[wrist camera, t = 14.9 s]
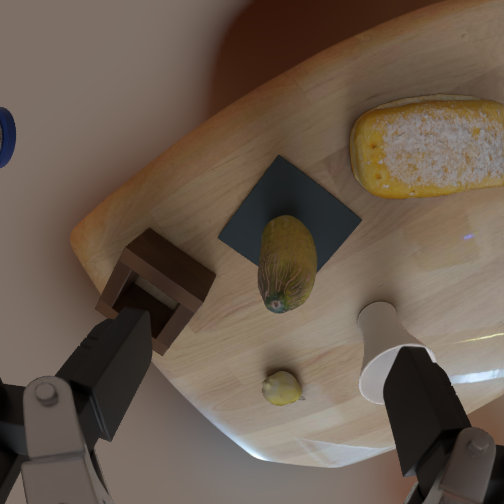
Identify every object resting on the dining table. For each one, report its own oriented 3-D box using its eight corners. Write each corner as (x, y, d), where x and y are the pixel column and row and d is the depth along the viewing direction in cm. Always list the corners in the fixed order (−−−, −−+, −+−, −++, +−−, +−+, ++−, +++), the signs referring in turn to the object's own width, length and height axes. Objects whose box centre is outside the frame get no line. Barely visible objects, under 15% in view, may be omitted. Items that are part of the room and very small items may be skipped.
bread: (334, 109, 37) (345, 104, 30) (496, 90, 32) (528, 88, 25) (357, 208, 41) (371, 225, 34) (509, 177, 36) (540, 188, 29)
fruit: (293, 402, 56) (249, 384, 53) (312, 379, 55) (269, 359, 52) (302, 422, 50) (256, 404, 47) (324, 397, 50) (278, 377, 47)
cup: (334, 337, 49) (344, 399, 37) (361, 281, 45) (383, 336, 33) (389, 350, 49) (410, 408, 37) (418, 298, 45) (451, 351, 33)
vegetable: (289, 196, 42) (292, 253, 23) (321, 230, 43) (344, 309, 24) (256, 226, 43) (232, 302, 25) (287, 258, 45) (286, 350, 26)
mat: (218, 236, 45) (217, 237, 45) (278, 154, 40) (278, 154, 40) (297, 292, 47) (297, 294, 47) (361, 219, 42) (362, 220, 42)
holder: (118, 284, 50) (94, 308, 42) (149, 227, 46) (125, 246, 38) (178, 326, 51) (162, 356, 44) (216, 274, 47) (203, 302, 40)
